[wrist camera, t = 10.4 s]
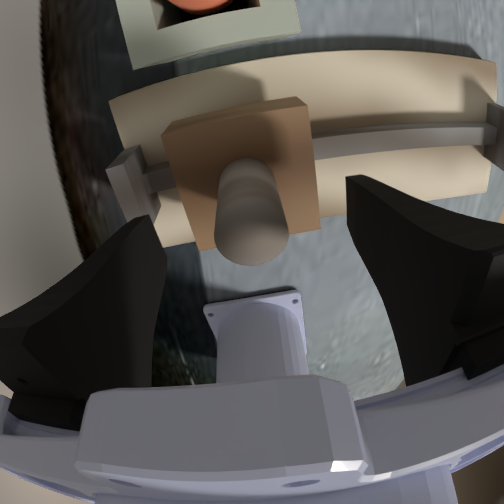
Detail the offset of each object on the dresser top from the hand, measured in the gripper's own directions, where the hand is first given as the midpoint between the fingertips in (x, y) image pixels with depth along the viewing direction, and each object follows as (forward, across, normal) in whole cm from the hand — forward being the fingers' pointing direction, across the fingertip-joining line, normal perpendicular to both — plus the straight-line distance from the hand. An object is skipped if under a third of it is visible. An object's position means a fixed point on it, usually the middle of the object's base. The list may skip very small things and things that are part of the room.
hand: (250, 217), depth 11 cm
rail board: (+8, -6, 0) cm, 10 cm away
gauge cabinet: (+8, 0, -9) cm, 12 cm away
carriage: (+5, 0, 0) cm, 5 cm away
